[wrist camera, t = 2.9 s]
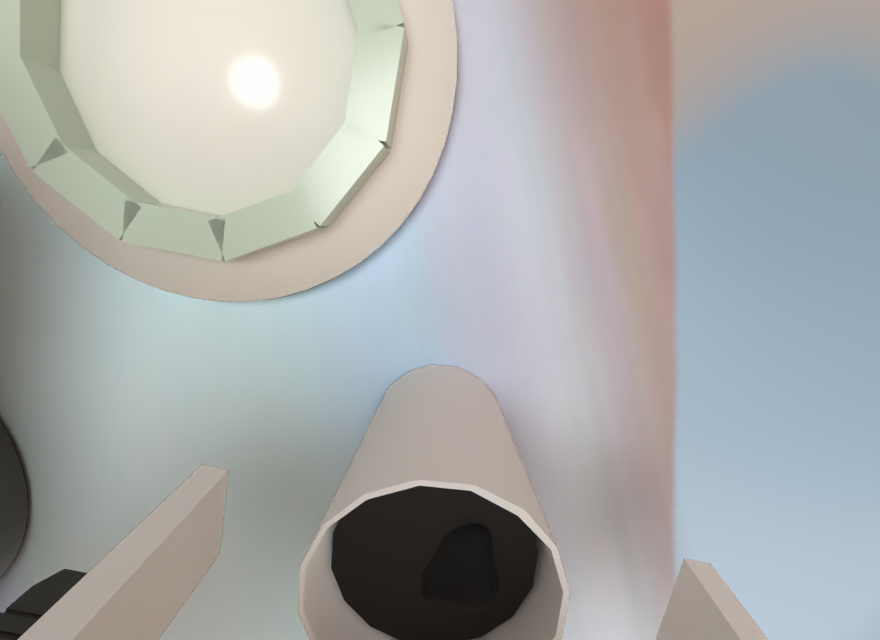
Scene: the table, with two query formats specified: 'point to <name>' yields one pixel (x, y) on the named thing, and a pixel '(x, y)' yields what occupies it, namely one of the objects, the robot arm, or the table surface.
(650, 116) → the table surface
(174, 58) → the tray
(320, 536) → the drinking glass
